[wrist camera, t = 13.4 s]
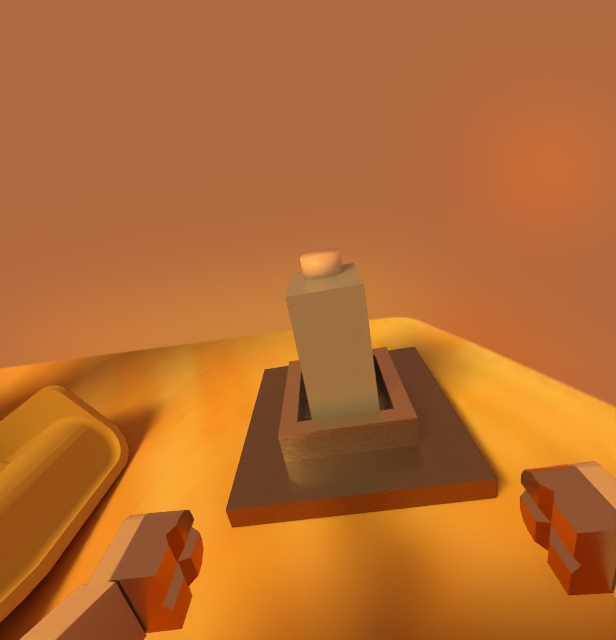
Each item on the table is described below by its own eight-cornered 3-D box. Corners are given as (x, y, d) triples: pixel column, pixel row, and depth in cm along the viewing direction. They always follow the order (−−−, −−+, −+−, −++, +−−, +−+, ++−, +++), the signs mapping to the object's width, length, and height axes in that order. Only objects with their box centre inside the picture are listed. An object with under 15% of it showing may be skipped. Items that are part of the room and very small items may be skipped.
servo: (315, 437, 21) (280, 274, 17) (315, 391, 25) (288, 255, 22) (382, 428, 20) (360, 260, 17) (369, 383, 25) (350, 244, 21)
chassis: (232, 527, 17) (215, 482, 16) (267, 381, 30) (260, 351, 29) (496, 497, 16) (497, 448, 15) (415, 359, 29) (413, 327, 28)
